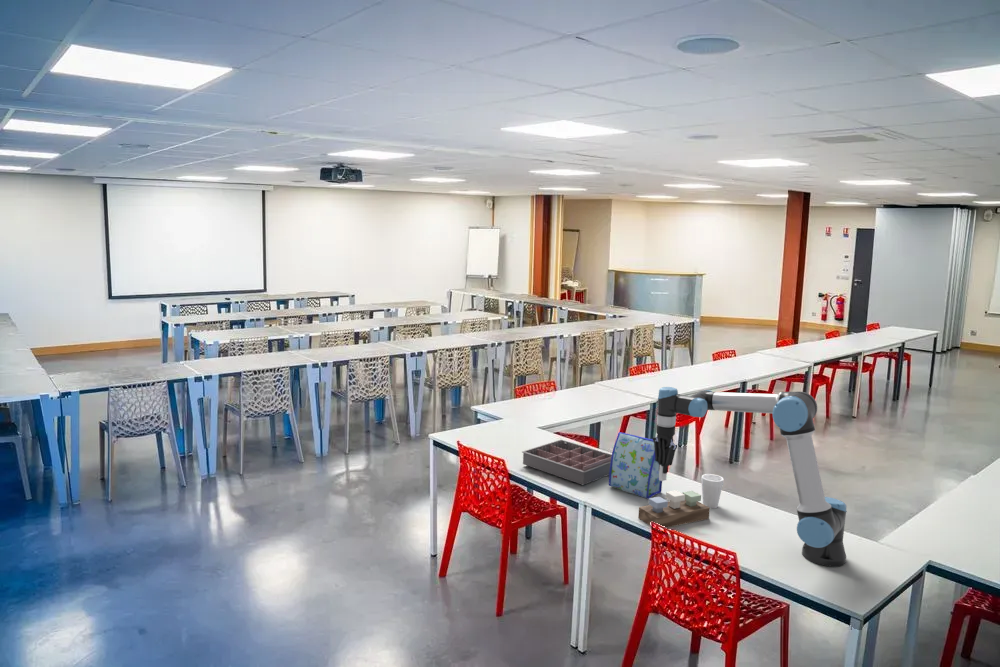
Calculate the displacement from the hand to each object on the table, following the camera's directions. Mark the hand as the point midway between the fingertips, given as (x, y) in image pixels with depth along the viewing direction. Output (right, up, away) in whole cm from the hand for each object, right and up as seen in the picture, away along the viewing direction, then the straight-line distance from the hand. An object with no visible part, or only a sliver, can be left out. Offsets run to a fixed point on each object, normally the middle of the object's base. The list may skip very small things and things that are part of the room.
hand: (662, 479), depth 282 cm
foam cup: (+27, -16, +22) cm, 38 cm away
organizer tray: (-31, -9, +63) cm, 71 cm away
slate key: (-2, -15, +2) cm, 15 cm away
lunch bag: (-4, -13, +38) cm, 41 cm away
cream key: (+7, -13, +6) cm, 16 cm away
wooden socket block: (+6, -18, +7) cm, 20 cm away
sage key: (+15, -14, +10) cm, 22 cm away
